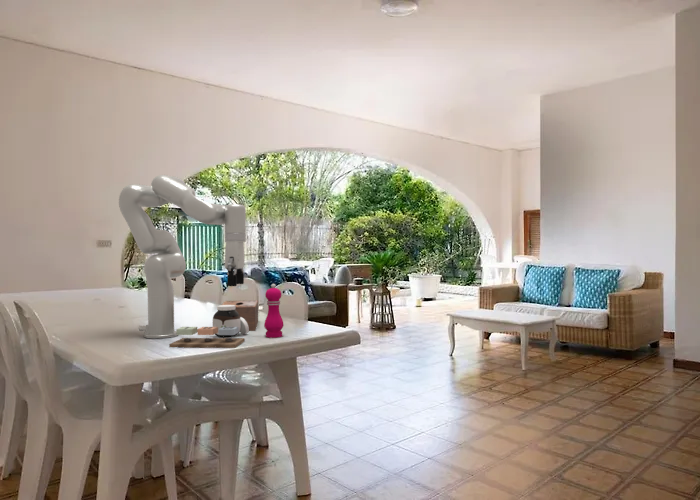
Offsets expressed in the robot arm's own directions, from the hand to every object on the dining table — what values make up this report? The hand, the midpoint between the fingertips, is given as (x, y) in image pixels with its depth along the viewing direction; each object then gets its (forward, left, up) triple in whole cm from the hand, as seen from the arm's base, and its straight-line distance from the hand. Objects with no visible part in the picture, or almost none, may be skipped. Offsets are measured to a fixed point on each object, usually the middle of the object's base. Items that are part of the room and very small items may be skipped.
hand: (235, 285), depth 202 cm
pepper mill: (+12, +8, -20) cm, 25 cm away
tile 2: (-8, -9, -16) cm, 20 cm away
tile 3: (0, -9, -16) cm, 19 cm away
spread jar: (-5, +10, -20) cm, 23 cm away
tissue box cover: (-8, +32, -21) cm, 39 cm away
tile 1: (-15, -9, -16) cm, 24 cm away
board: (-8, -9, -20) cm, 23 cm away
